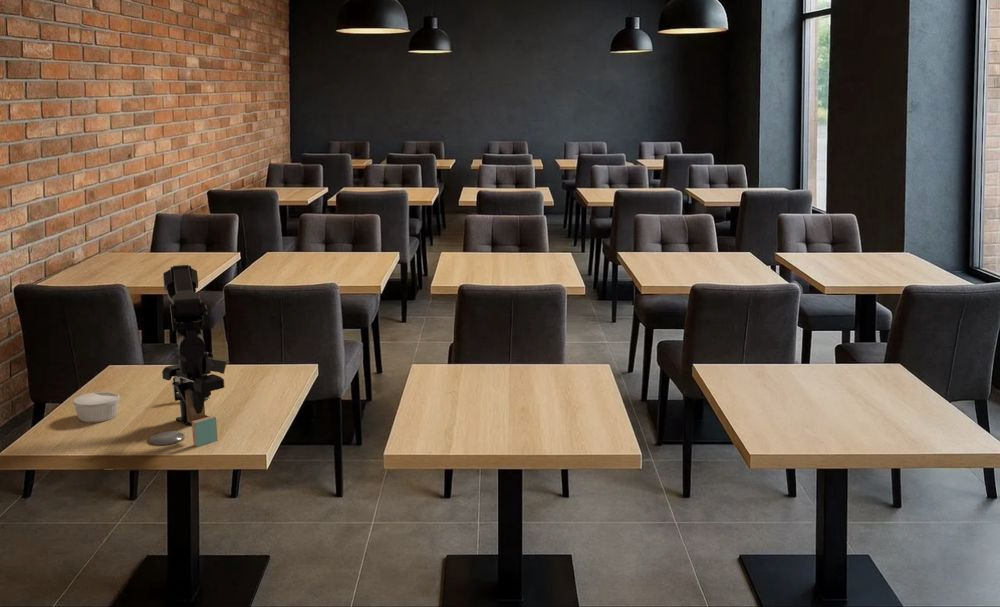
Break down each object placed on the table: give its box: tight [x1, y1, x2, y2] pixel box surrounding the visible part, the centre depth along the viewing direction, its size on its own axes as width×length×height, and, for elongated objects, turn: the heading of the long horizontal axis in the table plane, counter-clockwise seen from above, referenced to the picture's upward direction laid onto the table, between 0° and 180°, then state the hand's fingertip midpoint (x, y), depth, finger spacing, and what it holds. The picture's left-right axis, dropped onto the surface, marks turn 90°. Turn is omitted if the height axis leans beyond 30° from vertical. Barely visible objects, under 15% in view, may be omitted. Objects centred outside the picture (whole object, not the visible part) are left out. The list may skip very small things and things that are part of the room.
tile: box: [191, 415, 219, 448], centre depth 250 cm, size 2×6×6 cm, turn 137°
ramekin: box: [72, 391, 121, 423], centre depth 269 cm, size 11×11×5 cm
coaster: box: [149, 431, 185, 446], centre depth 253 cm, size 8×8×1 cm
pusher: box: [185, 390, 206, 425], centre depth 251 cm, size 3×3×8 cm
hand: (195, 411), depth 251 cm, fingers closed on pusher, 3 cm apart
